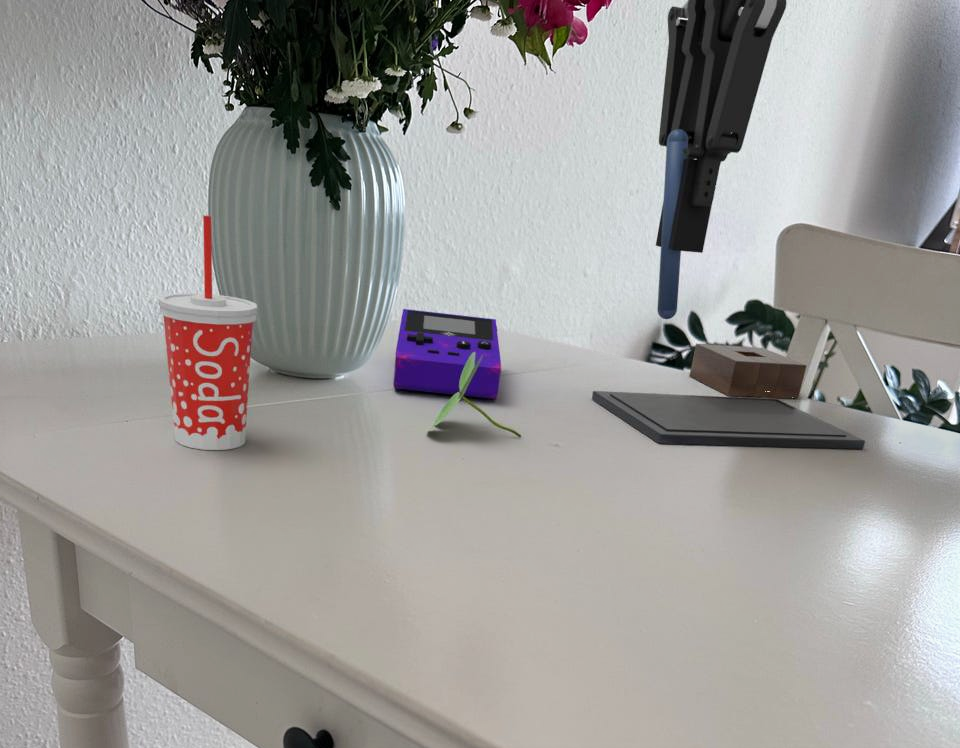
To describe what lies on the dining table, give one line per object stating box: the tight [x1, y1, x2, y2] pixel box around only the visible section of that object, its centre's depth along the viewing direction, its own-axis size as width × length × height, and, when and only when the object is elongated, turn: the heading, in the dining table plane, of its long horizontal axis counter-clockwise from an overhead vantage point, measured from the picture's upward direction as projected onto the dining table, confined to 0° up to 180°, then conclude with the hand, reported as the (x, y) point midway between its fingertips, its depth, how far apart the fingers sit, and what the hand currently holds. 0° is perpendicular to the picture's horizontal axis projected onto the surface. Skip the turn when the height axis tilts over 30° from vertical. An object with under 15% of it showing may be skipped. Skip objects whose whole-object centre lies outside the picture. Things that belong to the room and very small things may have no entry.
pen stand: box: [688, 343, 808, 399], centre depth 102 cm, size 8×8×4 cm
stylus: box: [656, 129, 688, 320], centre depth 77 cm, size 2×2×14 cm
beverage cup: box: [157, 214, 258, 451], centre depth 62 cm, size 6×6×14 cm
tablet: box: [591, 390, 866, 450], centre depth 86 cm, size 20×14×1 cm
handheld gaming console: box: [393, 308, 502, 400], centre depth 89 cm, size 9×5×15 cm
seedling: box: [428, 352, 522, 439], centre depth 74 cm, size 7×8×7 cm
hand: (678, 248), depth 78 cm, fingers closed on stylus, 1 cm apart
